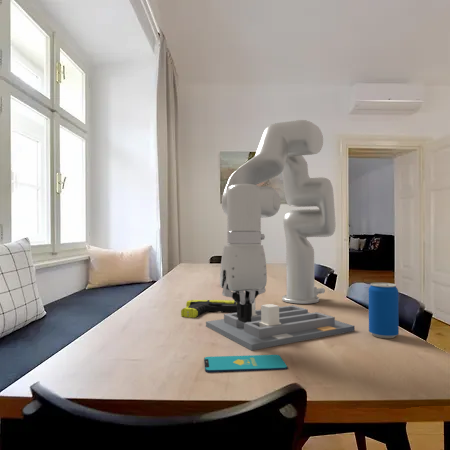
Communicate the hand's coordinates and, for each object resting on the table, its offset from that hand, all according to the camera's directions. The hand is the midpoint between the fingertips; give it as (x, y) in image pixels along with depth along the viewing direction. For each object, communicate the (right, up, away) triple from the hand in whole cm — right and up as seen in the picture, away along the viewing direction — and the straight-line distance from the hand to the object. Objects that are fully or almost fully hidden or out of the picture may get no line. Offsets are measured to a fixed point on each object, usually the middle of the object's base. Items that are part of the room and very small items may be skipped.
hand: (244, 320), depth 84 cm
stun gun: (-8, -6, +29) cm, 31 cm away
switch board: (+9, -5, +11) cm, 15 cm away
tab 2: (+6, -3, +3) cm, 8 cm away
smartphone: (-1, -5, -14) cm, 15 cm away
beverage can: (+33, -5, +4) cm, 34 cm away
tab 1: (+1, -3, +12) cm, 13 cm away
